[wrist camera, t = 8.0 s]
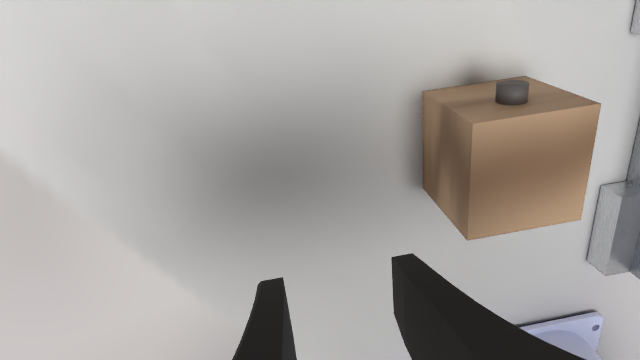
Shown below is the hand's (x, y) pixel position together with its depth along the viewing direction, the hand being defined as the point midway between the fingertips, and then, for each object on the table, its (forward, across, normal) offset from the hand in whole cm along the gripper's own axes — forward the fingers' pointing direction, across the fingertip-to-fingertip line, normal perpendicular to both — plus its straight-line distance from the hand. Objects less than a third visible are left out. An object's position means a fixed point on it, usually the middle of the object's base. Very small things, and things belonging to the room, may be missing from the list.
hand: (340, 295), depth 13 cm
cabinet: (+10, -8, 0) cm, 13 cm away
